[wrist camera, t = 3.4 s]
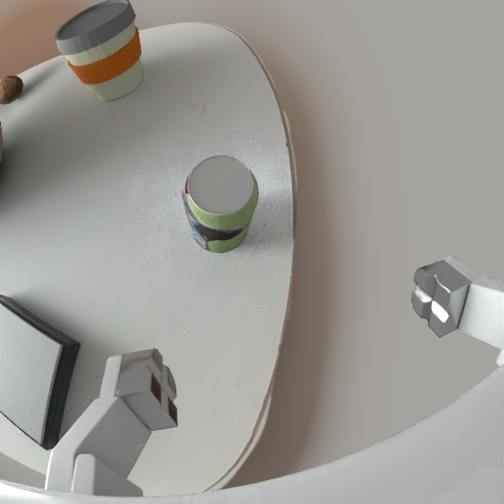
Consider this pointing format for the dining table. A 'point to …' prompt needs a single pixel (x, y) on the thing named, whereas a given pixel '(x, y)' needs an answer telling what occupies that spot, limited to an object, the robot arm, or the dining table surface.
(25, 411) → the kitchen scale
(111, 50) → the reusable coffee cup
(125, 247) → the dining table surface
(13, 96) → the brown potato
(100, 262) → the dining table surface
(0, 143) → the bowl
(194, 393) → the dining table surface
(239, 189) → the beverage can
